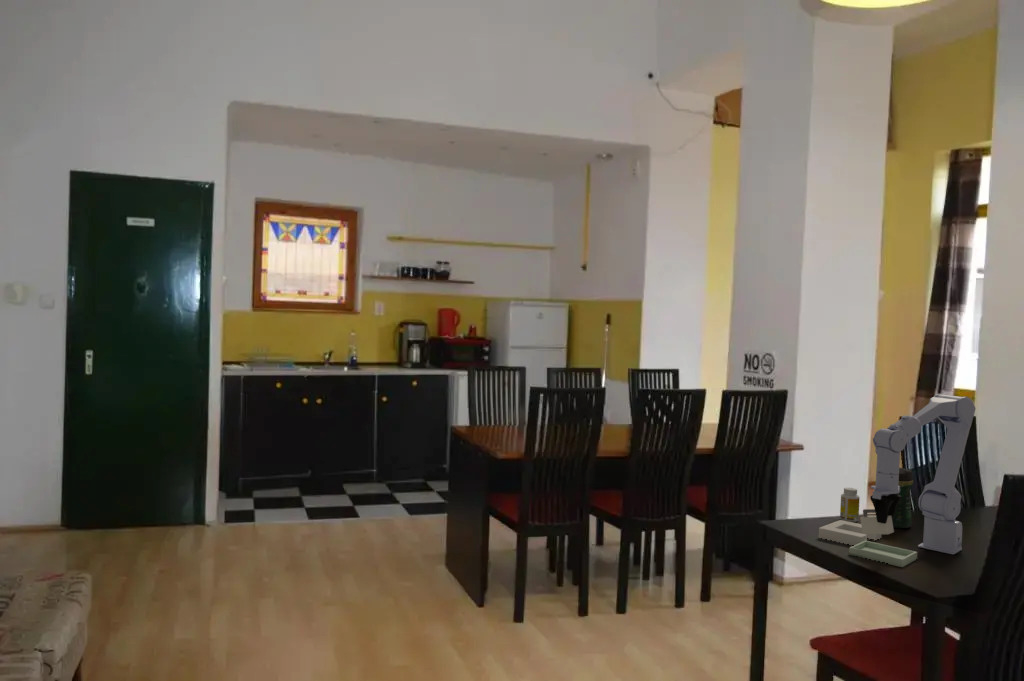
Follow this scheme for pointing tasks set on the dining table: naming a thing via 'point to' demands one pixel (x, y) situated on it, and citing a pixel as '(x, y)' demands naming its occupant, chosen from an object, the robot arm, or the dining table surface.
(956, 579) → the dining table surface
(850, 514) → the supplement bottle
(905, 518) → the coffee jar
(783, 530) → the dining table surface
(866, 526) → the block with grey handle
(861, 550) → the tray
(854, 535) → the bay
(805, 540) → the dining table surface
